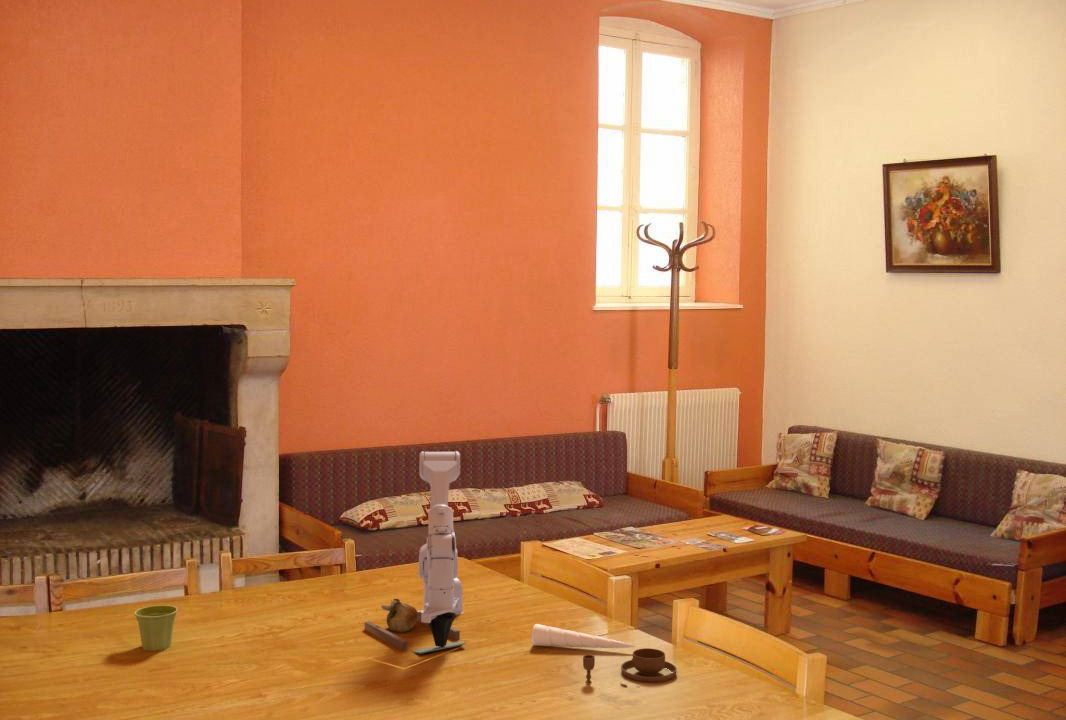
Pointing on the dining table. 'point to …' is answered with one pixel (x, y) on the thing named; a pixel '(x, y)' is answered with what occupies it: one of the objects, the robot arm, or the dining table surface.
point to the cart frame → (397, 640)
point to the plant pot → (156, 626)
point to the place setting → (639, 666)
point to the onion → (400, 616)
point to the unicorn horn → (571, 639)
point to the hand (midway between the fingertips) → (440, 645)
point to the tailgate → (438, 647)
